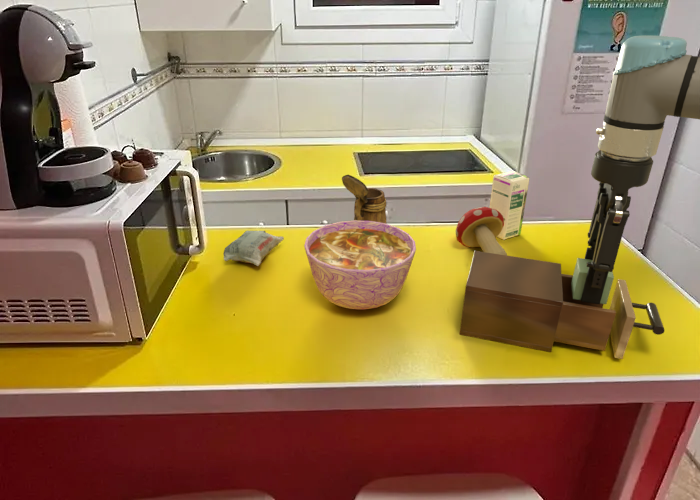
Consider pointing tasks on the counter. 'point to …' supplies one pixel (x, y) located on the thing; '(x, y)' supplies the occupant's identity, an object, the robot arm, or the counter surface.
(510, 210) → the syrup box
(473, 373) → the counter surface
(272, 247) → the packaged food
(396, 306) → the counter surface
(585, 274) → the block
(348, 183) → the wooden mug
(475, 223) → the decorative mushroom
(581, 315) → the drawer
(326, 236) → the bowl of food
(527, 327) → the cabinet
